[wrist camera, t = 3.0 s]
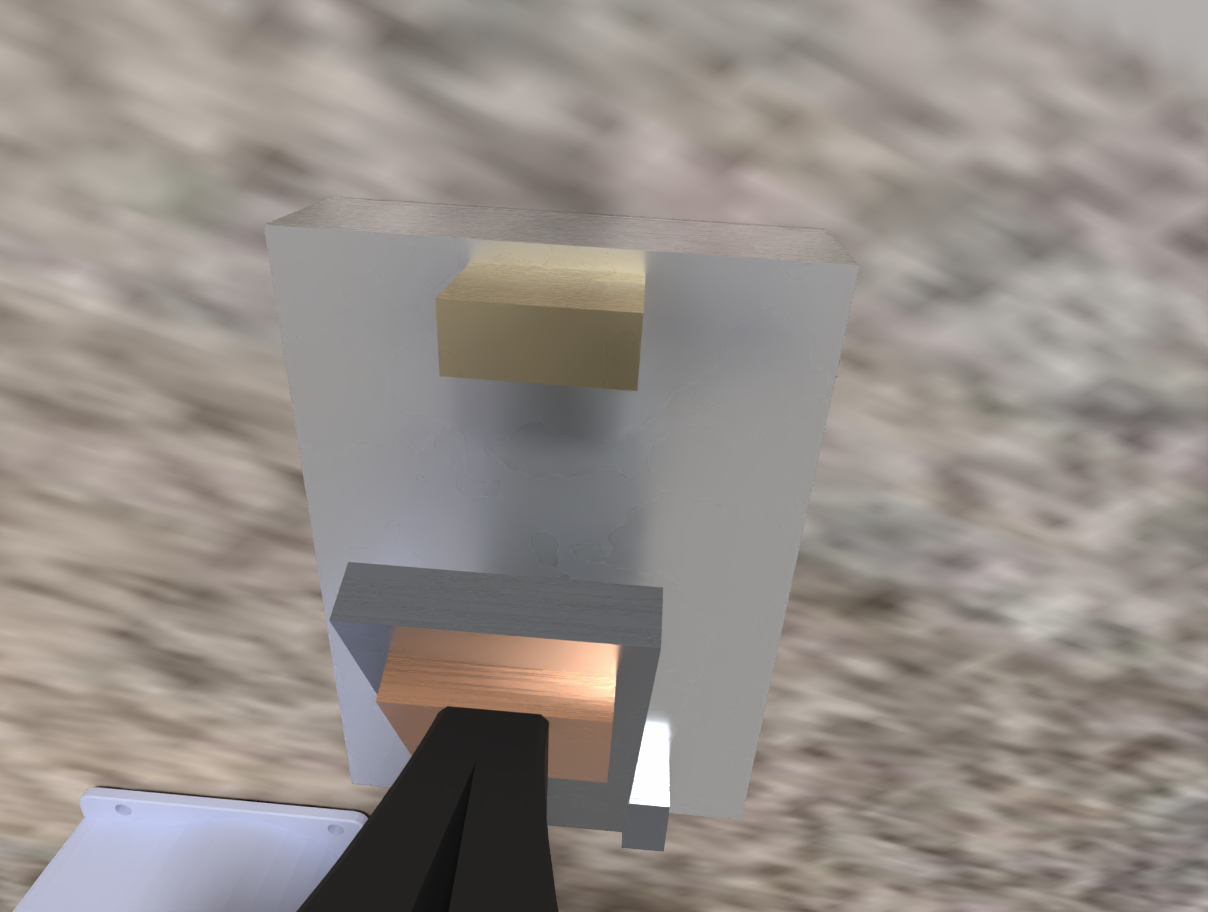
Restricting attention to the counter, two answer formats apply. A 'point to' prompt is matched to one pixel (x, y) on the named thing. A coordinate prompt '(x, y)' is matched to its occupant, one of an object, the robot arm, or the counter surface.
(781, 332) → the base block
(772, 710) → the counter surface
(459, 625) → the grey slab
